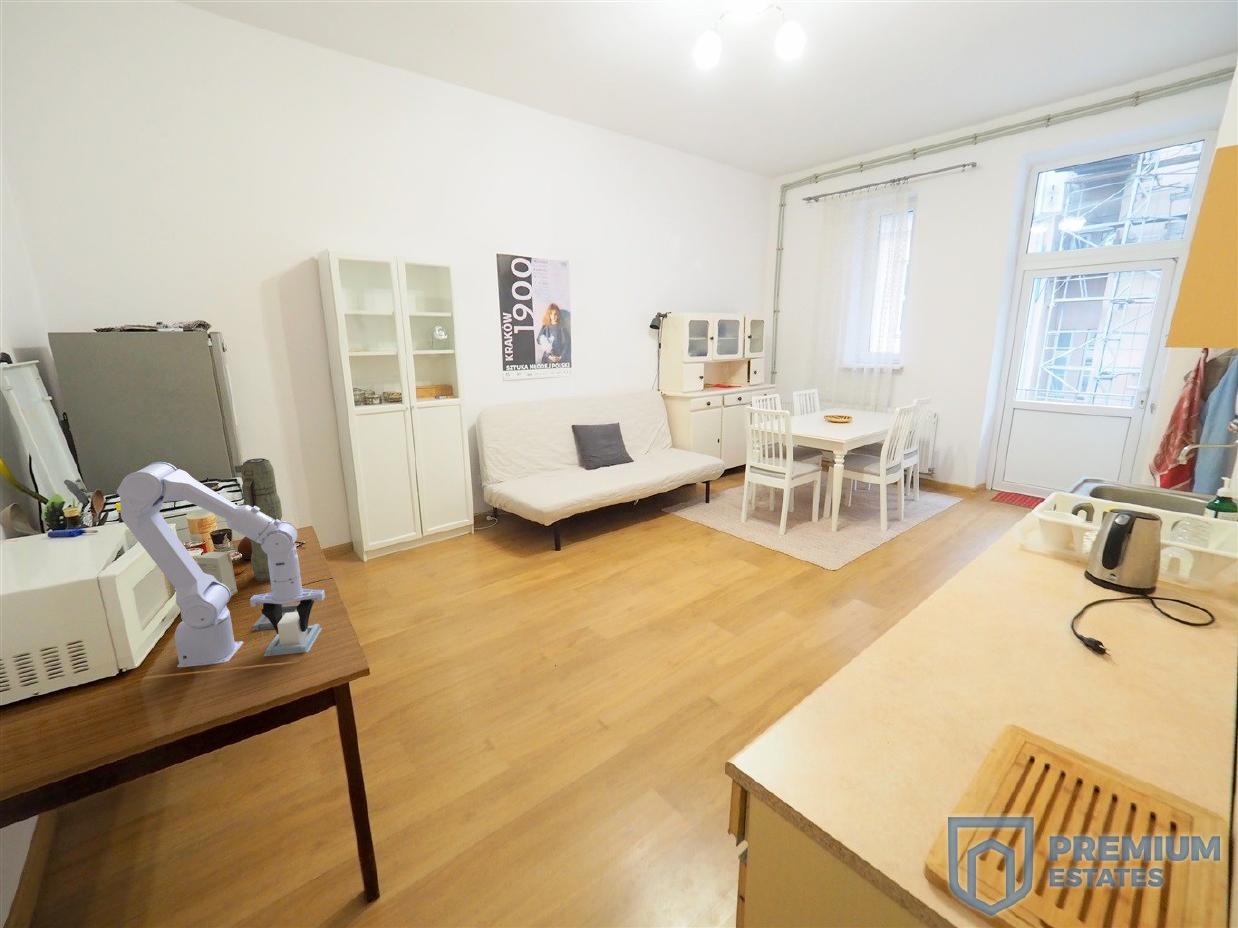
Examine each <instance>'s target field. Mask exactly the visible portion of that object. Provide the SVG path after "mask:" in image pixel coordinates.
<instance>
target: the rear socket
mask: <svg viewBox="0 0 1238 928" xmlns="http://www.w3.org/2000/svg"><path fill="white" fill-rule="evenodd" d="M299 604H300V603H293V604H292V603H289V604H282V617H283V616H284V615H285V613H290V612H297V610H296V607H297V606H298V605H299ZM271 629H274V630H275V628H274V626H273V625H272V623H271V622H270V620H269V619H268V618H267V617H266V616H265V615H263V614H261V615H260V617H259V618H258V619H257V620H256V622H255V623H254V624H253V626H252V629H251V631H252V632H253V631H261V630H271Z"/></svg>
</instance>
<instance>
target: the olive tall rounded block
mask: <svg viewBox="0 0 1238 928" xmlns="http://www.w3.org/2000/svg"><path fill="white" fill-rule="evenodd" d="M240 475H241V481H242V484H241V489H242V490H241V491H242V497H243V505H249V506H251V507H254V506H257V507H258V508H260V510H259V511H260V512H262V513H264V514H265V515H267V516H269V517H271V518H273V519H274V520H277V519H278V520H280V521H282V516H283V510H282V502H281V498H280V497H279V495H278V492H277V491H278V490H277V485H276V478H275V470H274V467H273V465H272V463H271V462H270V460H269V459H266V458H262V457H259V458H251V459H247V460H246V461H244V462H243V463H242V467H241V472H240ZM270 523H271V522H270ZM255 541H256V540H255ZM255 541H253V540H251V546H252V555H251V558H250V561H251V568H252V571H253V573H254V577H253V578H254V579H255V580H256V581H258V582H259V581H260V582H271V581H270V574H269V567H268V556H267V554H266V553H265V552H264V551H263V550H262V548H261V545H262V544H260V543H257V542H255Z"/></svg>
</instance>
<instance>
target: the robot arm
mask: <svg viewBox="0 0 1238 928" xmlns="http://www.w3.org/2000/svg"><path fill="white" fill-rule="evenodd" d="M116 494H117V495H118V496H119V499H120V502H119V504H120V519H121V520H122V521H123V523H124V525H126V527H127V528H128V530H129V531H130V532H131V533H132V535H133V536H134V537H135V538H136V540H137V541H138V542H139V543H140V545H141V546H142V548H143V549H144V550H145V551H146V553H147V554H148V555H149V557H150V558H151V559H152V560H153V561H154V563H155V564H156V566H158V568H159V569H160V571H161V572H162V573H163V575H164V576H165V577H166V578H167V580H168V581H169V582H170V584H171V585H172V586H173V588H174V589H175V603H176V605H177V606H178V608H179V611H180V617H181V619H182V621H180V623H178V625H177V627H176V629H175V633H174V645H175V649H176V654H177V659H178V664H177V666H176V667H177V668H186V667H195V666H196V667H197V666H207V665H215V664H218V665H219V664H225V663H228V662H230V660H231V659H232V657H233V656H234V655H235V654H236V652H238V651H239V649H240V648H241V647H242V645H243V644H244V641H243V640H240V641H235V635H234V629H233V624H232V619H231V618H232V617H231V612H230V610H229V608H228V607H227V604H228V603H229V601H230V600H231V598H232V596H231V592H230V590H229V588H228V587H227V586H226V585H224V584H222V583H220V582H218V581H217V580H216V579H215V577H214V576H212V575H209V574H205V573H204V572H203V571H202V570H201V568H200V567H199V566H198V562H196V561H197V560H195V559H194V558H193V556H192V554H190V552H189V551H188V549H187V548H186V547H185V546H184V544H183V543H182V541H181V540H180V539H179V537H178V536H177V534H176V533H175V532H174V530H173V529H172V527H170V525H169V524H168V522H167V521H166V520H165V518H164V516H163V515H162V514H161V513H160V512H161V509H162V507H163V505H164V503H165V502H168V503H169V502H176V501H177V502H179V501H186V502H189V503H191V504H193V505H195V506H198V507H199V508H201V509H203V510H205V511H208V512H210V513H212V514H214V515H216V516H218V517H221V518H222V519H224V520H225V522H226V523H227V524H226V525H227V527H228V528H229V529H231V530H233V531H235V532H237V533H239V534H241V535H242V536H244V537H245V536H246V537H248V538H250V539H251V540H253V541H255V540H256V541H255V542H257V543H260V544H262V545H261V548H262V550H263V551H264V552H265V553H266V554H267V556H268V567H269V574H270V581H269V582H270V587H271V592H270V591H269V592H266V593H262V594H253V595H252V596H251V598H249V602H250V607H251V608H252V607H253V608H254V607H257V606H262V609H261V613H262V614H263V615H265V616H266V617H267V618H268V619H269V620H270V622H271V623H272V625H273V626H274V630H275V633H276V635H277V634H279V633H278V626H277V624H278V623H279V621H280V620H281V619H282V605H288V604H292V603H298V604H299V605H298V606H297V607H296V610H297V612H298V614H299V618H300V625H301V631H302V632H305V631H306V629H307V628H308V626H309V619H310V614H311V612H312V607H313V605H314V603H315V601H317V602H323V601H324V600H325V598H326V593H325V589H309V588H303V586H302V578H301V576H302V575H301V571H300V563H299V561H300V560H299V556H298V552H297V551H298V550H297V543H295V542H296V541H297V539H298V534H299V532H298V530H297V528H296V526H295V525H294V524H292V523H291V522H290V521H283V520H281V521H280V520H278V519H277V520H274V519H273V518H271V517H269V516H267V515H265V514H264V513H262V512H260V511H259V510H260V508H258V507H257V506H254V507H251V506H249V505H237V504H235V503H234V502H232V501H231V500H228V498H226V497H224V496H222V495H221V494H219V493H217V492H216V491H215V490H213V489H211V488H210V487H209V486H206V485H204V484H203V483H201V482H200V481H199V480H197V479H195V478H194V477H192V476H191V475H190V474H189V473H188V472H187V471H185V470H183V469H181V468H179V469H178V468H177V467H176V466H175V465H173V464H172V463H168V462H164V461H156V462H152V463H149V464H148V465H147V466H145V467H143V468H142V469H139V470H138V471H135V472H131V473H129V474H128V475H126V476H124V478H123V479H122V481H121V483H120V485H119V486H118V488H117V490H116ZM270 522H271V523H270ZM262 614H261V615H262Z"/></svg>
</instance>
